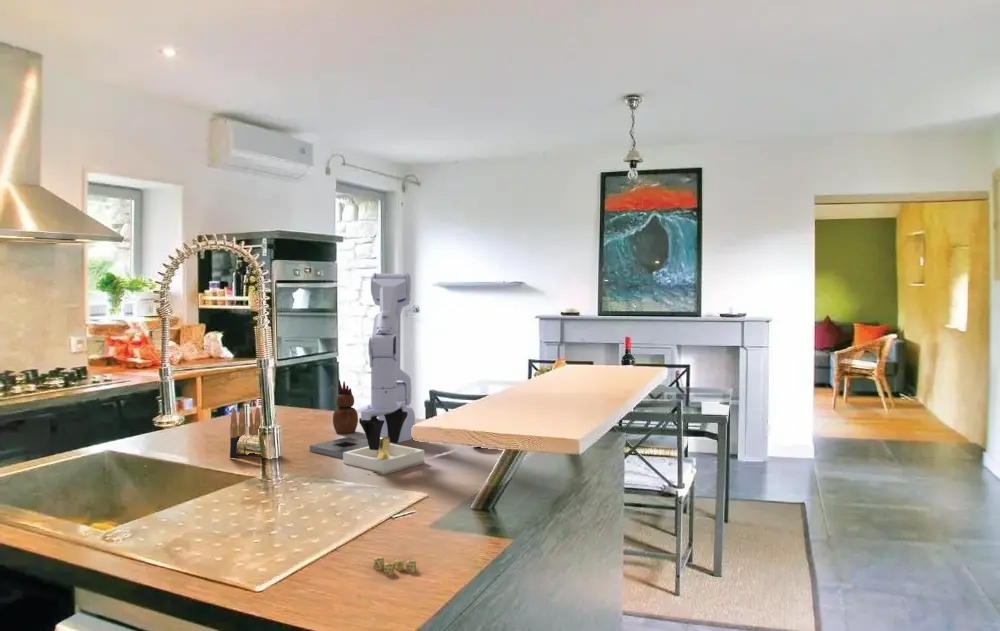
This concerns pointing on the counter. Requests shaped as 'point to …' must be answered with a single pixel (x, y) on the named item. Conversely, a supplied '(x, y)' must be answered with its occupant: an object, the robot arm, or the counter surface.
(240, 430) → the ammunition clip
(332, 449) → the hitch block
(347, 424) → the wooden figurine
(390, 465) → the tray
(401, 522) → the counter surface
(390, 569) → the dice set
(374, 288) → the robot arm
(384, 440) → the gold upright block
